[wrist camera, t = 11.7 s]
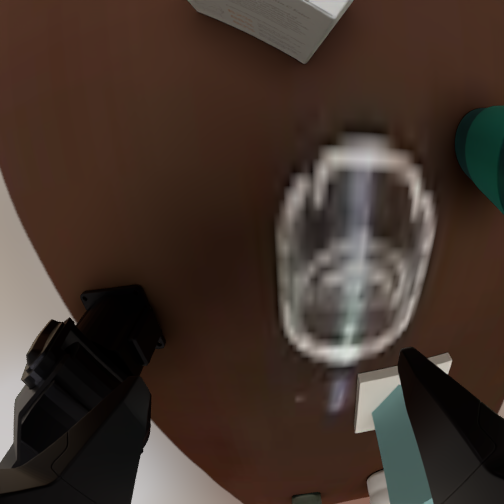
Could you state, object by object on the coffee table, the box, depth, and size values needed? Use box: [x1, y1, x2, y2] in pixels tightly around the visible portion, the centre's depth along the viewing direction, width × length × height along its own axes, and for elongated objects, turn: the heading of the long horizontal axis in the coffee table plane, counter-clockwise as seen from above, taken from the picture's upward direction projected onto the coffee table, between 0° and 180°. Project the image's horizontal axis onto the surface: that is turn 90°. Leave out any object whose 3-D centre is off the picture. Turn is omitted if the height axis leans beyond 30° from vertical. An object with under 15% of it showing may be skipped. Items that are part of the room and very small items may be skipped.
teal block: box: [372, 385, 433, 504], centre depth 22 cm, size 5×5×13 cm
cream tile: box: [354, 353, 452, 433], centre depth 28 cm, size 10×10×1 cm
